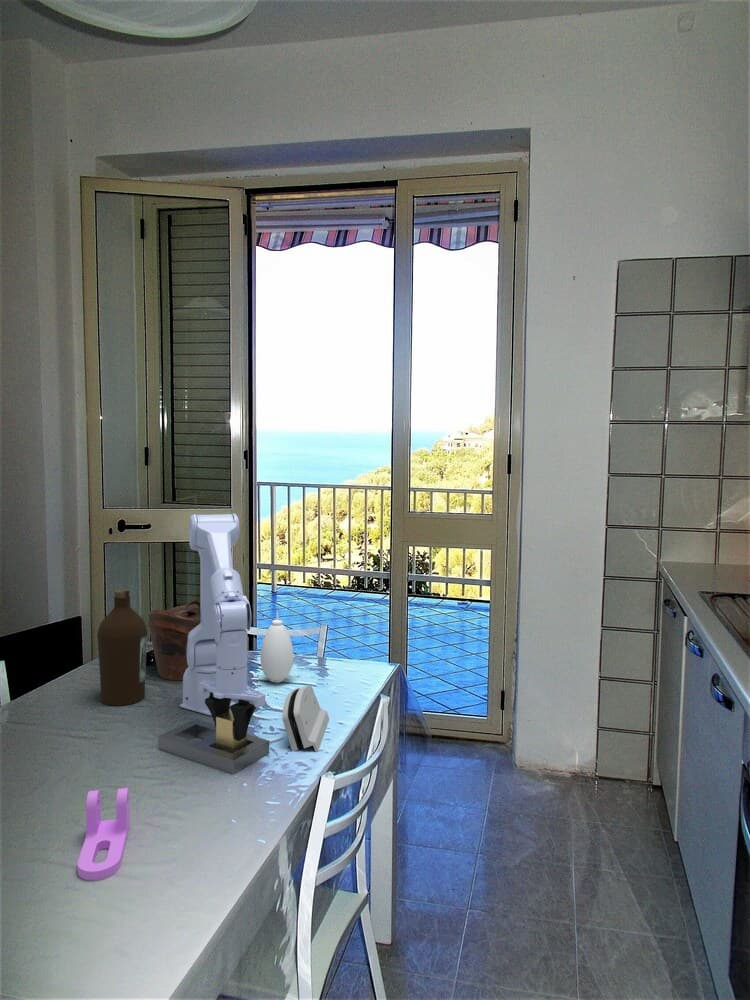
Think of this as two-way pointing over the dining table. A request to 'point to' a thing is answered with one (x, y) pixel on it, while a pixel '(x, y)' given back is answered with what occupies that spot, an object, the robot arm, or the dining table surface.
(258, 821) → the dining table surface
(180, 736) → the grey peg hole base
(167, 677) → the terracotta flower pot
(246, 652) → the robot arm
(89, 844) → the bracket
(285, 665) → the sauce bottle
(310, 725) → the grey piece
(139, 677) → the olive oil
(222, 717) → the tan rectangular block
